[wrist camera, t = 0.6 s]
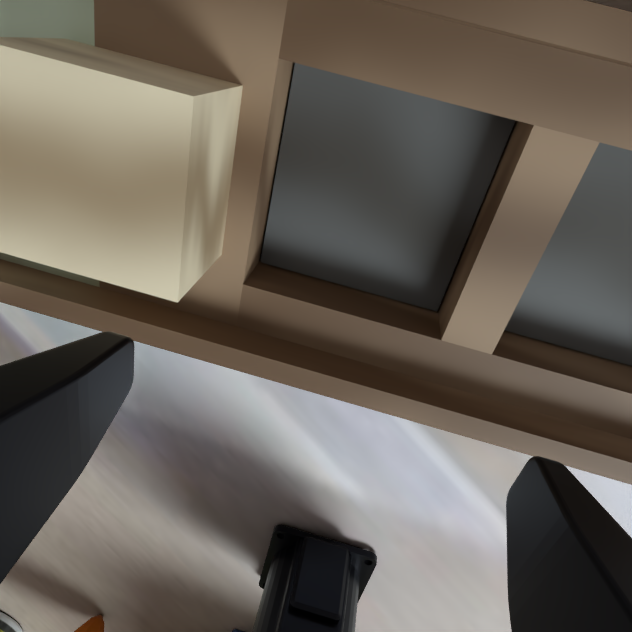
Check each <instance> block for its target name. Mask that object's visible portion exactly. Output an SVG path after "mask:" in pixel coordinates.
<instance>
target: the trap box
mask: <svg viewBox="0 0 632 632" xmlns="http://www.w3.org/2000/svg"><path fill="white" fill-rule="evenodd" d="M0 37H24V38H64V39H69V40H73V41H77V42H81V43H84V44H88V45H92V46H96V47H99V48H103V49H107V50H111V51H115V52H118V53H122V54H126V55H130V56H134V57H137V58H141V59H145V60H149V61H152V62H156V63H160V64H164V65H168V66H171V67H175V68H179V69H183V70H187V71H190V72H194V73H198V74H202V75H205V76H209V77H213V78H217V79H221V80H224V81H228V82H232V83H236V84H239V85H243V89H242V97H241V105H240V112H239V120H238V128H237V136H236V144H235V152H234V160H233V168H232V176H231V184H230V192H229V200H228V208H227V216H226V224H225V231H224V239H223V247H222V255H221V256H220V257H219V258H218V259H217V260H216V261H215V262H214V264H213V265H212V266H211V267H210V268H209V269H208V270H207V271H206V272H205V273H204V274H203V276H202V277H201V278H200V279H199V280H198V281H197V282H196V283H195V284H194V285H193V286H192V287H191V289H190V290H189V291H188V292H187V293H186V294H185V295H184V296H183V297H182V298H181V299H180V301H179V302H178V303H177V302H173V301H170V300H166V299H163V298H159V297H156V296H152V295H149V294H145V293H142V292H138V291H135V290H131V289H128V288H124V287H121V286H117V285H114V284H110V283H107V282H103V281H100V280H96V279H93V278H89V277H86V276H82V275H79V274H75V273H72V272H68V271H65V270H61V269H58V268H54V267H51V266H47V265H44V264H40V263H36V262H33V261H29V260H26V259H22V258H19V257H15V256H12V255H8V254H5V253H1V252H0V302H2V303H6V304H9V305H12V306H16V307H19V308H23V309H26V310H30V311H33V312H37V313H40V314H44V315H47V316H51V317H54V318H57V319H61V320H64V321H68V322H71V323H75V324H78V325H82V326H85V327H89V328H92V329H95V330H99V331H102V332H106V331H110V332H115V333H118V334H121V335H125V336H128V337H130V338H131V339H132V340H133V341H137V342H140V343H144V344H147V345H151V346H154V347H158V348H161V349H165V350H168V351H172V352H175V353H178V354H182V355H185V356H189V357H192V358H196V359H199V360H203V361H206V362H210V363H213V364H216V365H220V366H223V367H227V368H230V369H234V370H237V371H241V372H244V373H248V374H251V375H254V376H258V377H261V378H265V379H268V380H272V381H275V382H279V383H282V384H286V385H289V386H293V387H296V388H299V389H303V390H306V391H310V392H313V393H317V394H320V395H324V396H327V397H331V398H334V399H337V400H341V401H344V402H348V403H351V404H355V405H358V406H362V407H365V408H369V409H372V410H375V411H379V412H382V413H386V414H389V415H393V416H396V417H400V418H403V419H407V420H410V421H414V422H417V423H420V424H424V425H427V426H431V427H434V428H438V429H441V430H445V431H448V432H452V433H455V434H458V435H462V436H465V437H469V438H472V439H476V440H479V441H483V442H486V443H490V444H493V445H496V446H500V447H503V448H507V449H510V450H514V451H517V452H521V453H524V454H528V455H531V456H540V457H544V458H547V459H551V460H554V461H557V462H560V463H562V464H563V465H566V466H569V467H573V468H576V469H579V470H583V471H586V472H590V473H593V474H597V475H600V476H604V477H607V478H611V479H614V480H617V481H621V482H624V483H628V484H631V485H632V12H630V11H626V10H622V9H618V8H614V7H610V6H606V5H602V4H598V3H594V2H590V1H586V0H0ZM294 63H295V66H294ZM293 69H294V72H293ZM292 74H293V77H292ZM291 80H292V83H291ZM290 86H291V89H290ZM289 92H290V95H289ZM288 97H289V100H288ZM287 103H288V106H287ZM286 109H287V112H286ZM285 115H286V118H285ZM515 120H516V121H515ZM284 121H285V123H284ZM514 123H515V124H514ZM513 125H514V126H513ZM283 126H284V129H283ZM512 128H513V129H512ZM511 130H512V131H511ZM282 132H283V135H282ZM509 135H510V136H509ZM281 138H282V141H281ZM507 140H508V141H507ZM506 142H507V143H506ZM280 144H281V146H280ZM505 145H506V146H505ZM504 147H505V148H504ZM279 149H280V152H279ZM503 150H504V151H503ZM502 152H503V153H502ZM278 155H279V158H278ZM500 157H501V158H500ZM499 159H500V160H499ZM277 161H278V164H277ZM498 162H499V163H498ZM497 164H498V165H497ZM276 167H277V169H276ZM496 167H497V168H496ZM495 169H496V170H495ZM275 172H276V175H275ZM493 174H494V175H493ZM274 178H275V181H274ZM491 179H492V180H491ZM490 181H491V182H490ZM273 184H274V187H273ZM489 184H490V185H489ZM488 186H489V187H488ZM487 189H488V190H487ZM272 190H273V192H272ZM486 191H487V192H486ZM271 196H272V198H271ZM484 196H485V197H484ZM483 198H484V199H483ZM270 201H271V204H270ZM482 201H483V202H482ZM481 203H482V204H481ZM480 206H481V207H480ZM269 207H270V210H269ZM479 208H480V209H479ZM268 213H269V215H268ZM477 213H478V214H477ZM475 218H476V219H475ZM267 219H268V221H267ZM474 220H475V221H474ZM473 223H474V224H473ZM266 224H267V227H266ZM472 225H473V226H472ZM265 230H266V233H265ZM470 230H471V231H470ZM468 235H469V236H468ZM264 236H265V238H264ZM467 237H468V238H467ZM466 240H467V241H466ZM263 242H264V244H263ZM465 242H466V243H465ZM464 245H465V246H464ZM463 247H464V248H463ZM262 248H263V250H262ZM461 252H462V253H461ZM261 253H262V256H261ZM459 257H460V258H459ZM260 259H261V260H260ZM458 259H459V260H458ZM457 262H458V263H457ZM456 264H457V265H456ZM454 269H455V270H454ZM452 274H453V275H452ZM451 276H452V277H451ZM450 279H451V280H450ZM449 281H450V282H449ZM448 284H449V285H448ZM447 286H448V287H447ZM445 291H446V292H445ZM443 296H444V297H443ZM442 298H443V299H442ZM441 301H442V302H441ZM440 303H441V304H440ZM438 308H439V309H438Z"/></svg>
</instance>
